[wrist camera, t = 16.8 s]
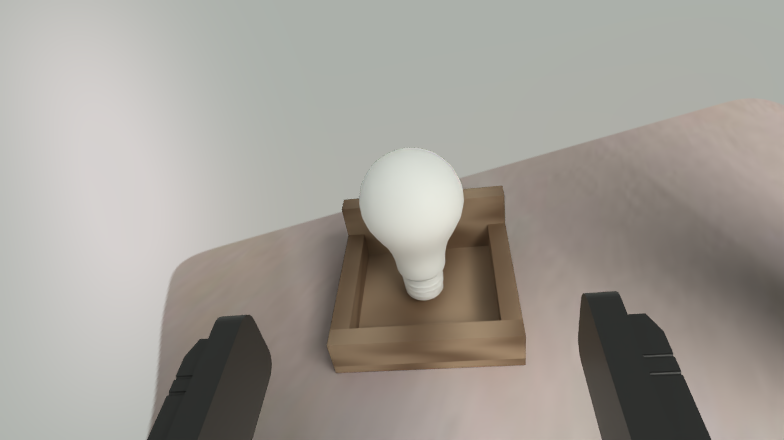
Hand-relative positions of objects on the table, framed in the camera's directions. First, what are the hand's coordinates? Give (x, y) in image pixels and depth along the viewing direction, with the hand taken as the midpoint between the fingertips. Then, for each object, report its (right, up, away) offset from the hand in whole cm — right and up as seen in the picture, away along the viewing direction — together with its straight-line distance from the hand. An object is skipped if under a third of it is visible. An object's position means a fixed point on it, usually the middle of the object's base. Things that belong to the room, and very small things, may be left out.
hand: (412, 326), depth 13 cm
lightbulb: (+2, -3, +23) cm, 23 cm away
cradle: (+2, -3, +23) cm, 23 cm away
